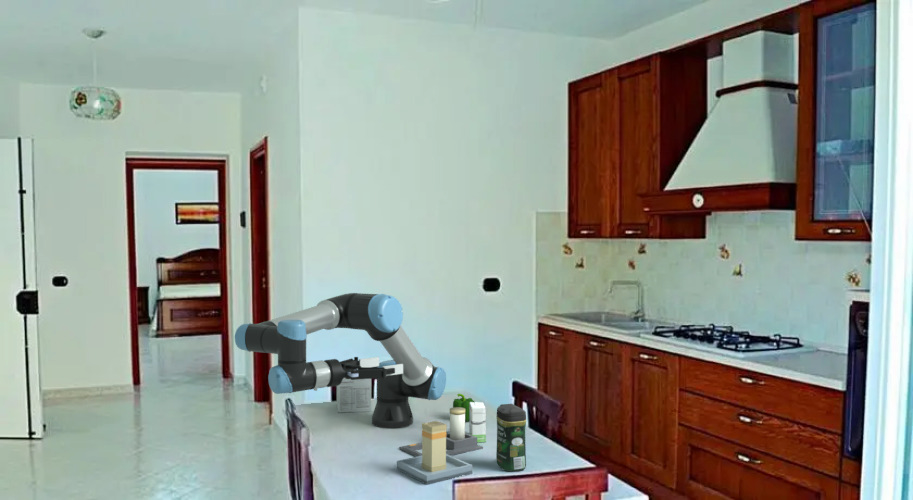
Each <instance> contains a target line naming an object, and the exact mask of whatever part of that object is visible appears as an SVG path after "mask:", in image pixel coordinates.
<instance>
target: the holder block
mask: <svg viewBox="0 0 913 500" xmlns="http://www.w3.org/2000/svg"><path fill="white" fill-rule="evenodd" d="M398 448H399V450H401V451H403V452H404V453H407V454H409V455H411V456H414V457H417V456H422V452H421V451H419V450H422V441H421V442H418V443H411V444H408V445H403V446H402V445H401V446H399V447H398ZM447 448H448V450H446V454H448V455H450V456H451V455H452V456H455V454H456V455H460V454H459V453H461V454H464V453H468V452H473V451H478V450H483V448H484V446H482V445H479V444H478V442H477V437H475V436H473V435H470V434H469V433H467V432H465V439H460V440H452V439H450V432H448V433H447V432H446V449H447Z"/></svg>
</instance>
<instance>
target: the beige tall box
mask: <svg viewBox="0 0 913 500" xmlns="http://www.w3.org/2000/svg"><path fill="white" fill-rule="evenodd" d="M447 427H448V425H447V424H446V423H444V422H443V423H442V422H440V421H438V420H434V421H429V422H424V423H421V438H422V441H421V442H422V449H421V453H422V468H424V469H426V470H428V471H430V472H435V471H439V470H444V469H446V451H447V448H446V433H447V429H448V428H447Z"/></svg>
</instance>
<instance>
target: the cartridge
mask: <svg viewBox="0 0 913 500" xmlns="http://www.w3.org/2000/svg"><path fill="white" fill-rule="evenodd" d="M449 433H450V439H452V440H460V439H465V433H466V421H465V408H461V407H454V408H453V407H451V408H449Z"/></svg>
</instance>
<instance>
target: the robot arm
mask: <svg viewBox="0 0 913 500" xmlns="http://www.w3.org/2000/svg"><path fill="white" fill-rule="evenodd" d="M403 318H404V313H403V307H402V303H400V300H398V299H397V298H396V297H395V296H393V295H389V294H386V293H385V294H384V293H361V292H360V293H359V292H358V293H357V292H350V293H344V294H343V293H342V294H340V295H336V296H333V297H330V298H327V299H324V300H321V301H319V302H318V303H317V304H316V305H315V306H311V307H308V308H305V309H302V310H298V311H295V312H293V313H290V314H286V315H283V316H278V317H276V318H274V319H270V320H266V321H263V322H260V323H251V322H250V323H242V324H241V325H239V327H238V328H237V329H236V331H235V334H234V342H235V345H236V347H237V348H238V349H240V350H241V351H242V350H243V351H247V352H249V353H250V352H255V353H265V354H273V355H277V364H276V365H275V366H271V368H269V371H268V372H269V373H268V377H267V379H268V385H269V389H270V390H271V391H272V393H274V394H276V395H282V394H292V393H296V392H303V391H304V392H305V391H309V390H313V391H316V392H317V391H318V389H324V388H331V387H337V386H338V385H340V384H341V382H342V380H343V378H344V377H345V378H346V379H351V380H356V379H371V380H375V379H376V402H375V403H376V404H375V406H374V410H373V413H372V415H371V425H373V426H375V427H378V428H383V429H384V428H385V429H396V428H397V429H398V428H399V429H400V428H405V427H409V426H411V425H413V424H414V416H413V412H412V409H411V406H410V401H409V398H413V399H414V398H415V399H421V400H428V401H438V400H439V399H440V398H441V397H442V395H443V394H444V392H445V388H446V384H447V374H446V370H445V369H444V368H443V367H440V366H438V367H437V366H434V364H433V363H432V361H431V360H430V359H428V358H427V357H424V356H422V354H421V353H420V352H419V350H418V349H417V347H416V346H415V344H414V343H413V342H412V340H411V339H410V337H409V335H408V334H407V333H406V331H405V330H404V329H403V327H402V323H403ZM334 329H350V330H360V331H365V332H366V333H367V334H368V336H369V338H371V339H372V340H373V341H376V342H380V344H381V346H383V348H384V349H385V351H387V353H388V355H389V356H390V357H391V359H389V360H384V361H381V362H380V357H379V356H375V357H374V356H373V357H365V358H359V356H354V357H353V358H352V357H351V358H348V359H344V360H342V361H341V360H340V361H339V360H338V359H337V358H333V359H330V358H329V359H325V360H315V361H314V360H313V361H309V362H307V336H308V335H309V334H313V333H316V332H318V331H321V330H326V331H330V330H334ZM357 369H358V370H357Z"/></svg>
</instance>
